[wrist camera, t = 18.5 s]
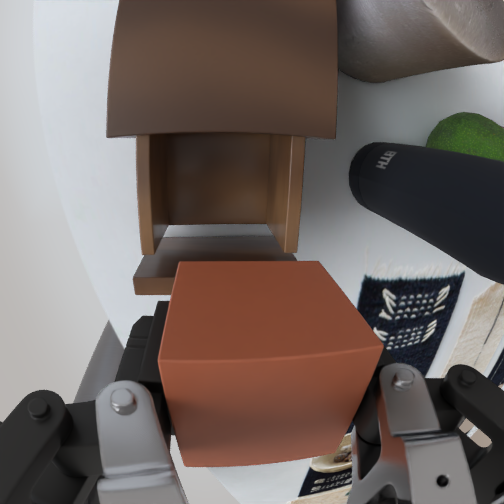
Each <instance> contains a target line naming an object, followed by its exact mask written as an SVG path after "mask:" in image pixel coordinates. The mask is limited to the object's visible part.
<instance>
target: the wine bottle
mask: <svg viewBox="0 0 504 504" xmlns="http://www.w3.org/2000/svg"><path fill="white" fill-rule="evenodd" d="M349 185H350V188H351V191H352V194H353V196H354V197H355V198H356V200H357V201H358V202H359V204H361V205H362V206H364V207H365V208H367V209H369V210H370V211H372V212H374V213H376V214H378V215H380V216H382V217H384V218H386V219H387V220H389V221H391V222H393V223H395V224H397V225H399V226H400V227H402V228H404V229H406V230H407V231H409V232H411V233H413V234H415V235H416V236H418V237H420V238H421V239H423V240H425V241H427V242H428V243H430V244H432V245H433V246H435V247H437V248H438V249H440V250H442V251H443V252H445V253H447V254H448V255H450V256H451V257H453V258H455V259H456V260H458V261H459V262H461V263H462V264H464V265H466V266H467V267H469V268H470V269H472V270H473V271H475V272H476V273H478V274H479V275H481V276H483V277H486V278H488V279H491V280H493V281H495V282H498V283H501V284H504V162H503V161H499V160H494V159H490V158H485V157H480V156H475V155H470V154H465V153H460V152H454V151H448V150H442V149H435V148H428V147H421V146H413V145H404V144H395V143H384V142H373V143H371V144H368V145H366V146H364V147H363V148H362V149H361V150H360V151H358V152H357V153H356V155H355V157H354V159H353V161H352V162H351V167H350V171H349Z"/></svg>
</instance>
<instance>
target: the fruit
mask: <svg viewBox="0 0 504 504" xmlns="http://www.w3.org/2000/svg"><path fill="white" fill-rule="evenodd" d="M426 147H428V148H435V149H442V150H448V151H454V152H460V153H465V154H470V155H475V156H480V157H485V158H490V159H494V160H499V161H503V162H504V128H502V127H501V126H499V125H498V124H496V123H495V122H494V121H492V120H490V119H488V118H486V117H484V116H482V115H480V114H475V113H466V112H462V113H457V114H454V115H452V116H450V117H447V118H445V119H443V120H442V121H440V122H439V123H438V124H437V126H436V127H435V128H434V129H433V131H432V132H431V134H430V135H429V137H428V141H427V145H426Z"/></svg>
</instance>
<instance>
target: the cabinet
mask: <svg viewBox="0 0 504 504" xmlns="http://www.w3.org/2000/svg"><path fill="white" fill-rule="evenodd" d="M337 92H338V30H337V4H336V0H119V5H118V10H117V16H116V22H115V28H114V35H113V42H112V50H111V59H110V69H109V81H108V97H107V130H106V137H107V138H136V136H141V135H156V134H176V133H252V134H273V135H288V136H300V137H306V138H305V139H331V140H334V139H335V138H336V121H337Z"/></svg>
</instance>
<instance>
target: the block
mask: <svg viewBox="0 0 504 504" xmlns="http://www.w3.org/2000/svg"><path fill="white" fill-rule="evenodd" d="M383 348H384V346H383V344H382V342H381V341H380V340H379V338H378V337H377V336H376V334H375V333H374V331H373V330H372V329H371V327H370V326H369V325H368V323H367V322H366V321H365V320H364V318H363V317H362V316H361V314H360V313H359V312H358V310H357V309H356V308H355V306H354V305H353V304H352V303H351V301H350V300H349V299H348V297H347V296H346V295H345V294H344V292H343V291H342V290H341V288H340V287H339V286H338V285H337V283H336V282H335V281H334V280H333V278H332V277H331V276H330V274H329V273H328V272H327V271H326V269H325V268H324V267H323V266H322V264H321V263H320V262H319V261H181V262H179V265H178V269H177V273H176V277H175V281H174V285H173V290H172V294H171V298H170V303H169V307H168V312H167V316H166V321H165V326H164V330H163V335H162V340H161V345H160V350H159V356H158V366H159V371H160V375H161V380H162V385H163V389H164V393H165V398H166V402H167V406H168V410H169V414H170V418H171V422H172V425H173V429H174V433H175V436H176V440H177V443H178V447H179V450H180V453H181V457H182V459H183V463H184V466H186V467H230V466H247V465H260V464H270V463H278V462H286V461H293V460H299V459H306V458H311V457H317V456H322V455H327V454H331V453H335V452H336V450H337V448H338V447H339V445H340V443H341V441H342V439H343V437H344V435H345V433H346V432H347V430H348V428H349V426H350V424H351V422H352V420H353V418H354V416H355V414H356V411H357V409H358V407H359V405H360V403H361V401H362V399H363V396H364V394H365V392H366V390H367V387H368V385H369V383H370V380H371V378H372V376H373V373H374V371H375V368H376V366H377V363H378V361H379V358H380V356H381V353H382V350H383Z"/></svg>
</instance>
